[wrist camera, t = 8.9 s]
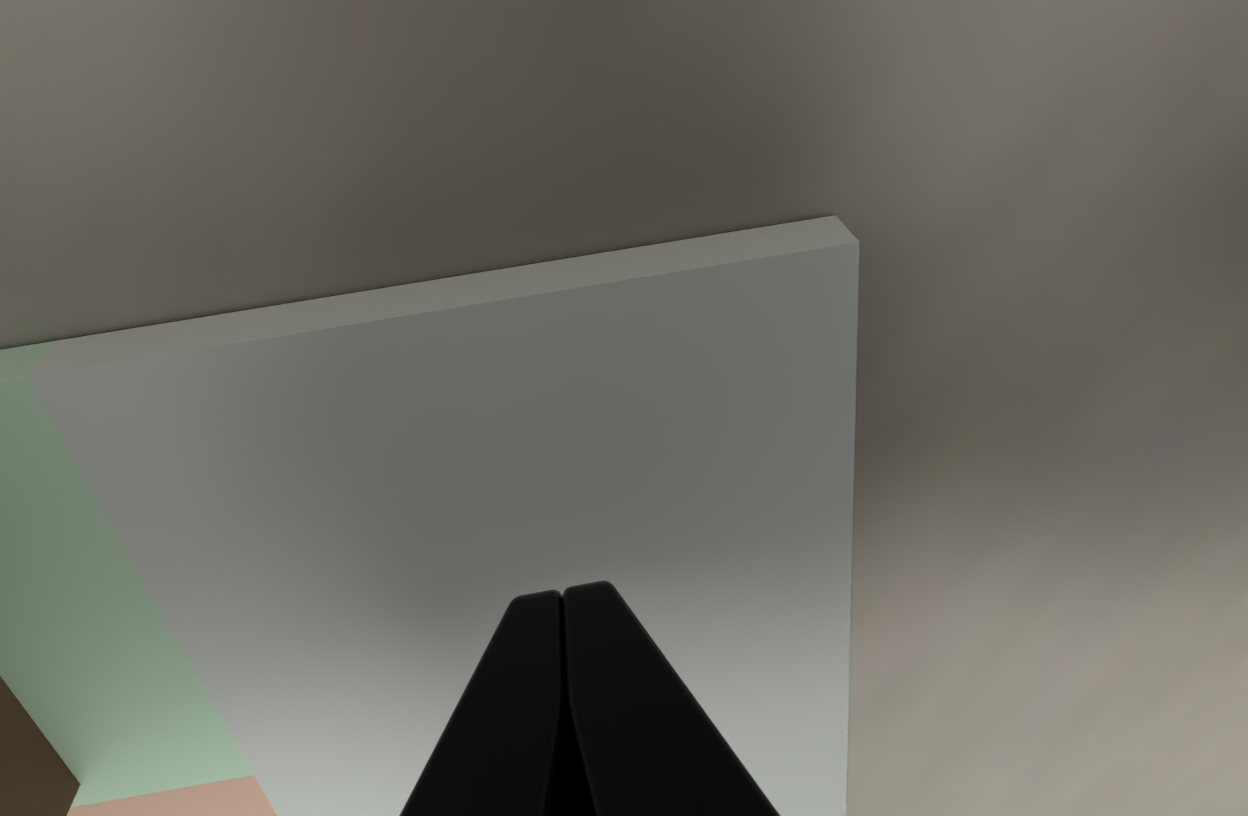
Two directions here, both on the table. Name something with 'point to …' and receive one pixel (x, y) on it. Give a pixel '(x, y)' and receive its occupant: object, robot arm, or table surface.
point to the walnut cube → (30, 765)
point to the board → (432, 517)
